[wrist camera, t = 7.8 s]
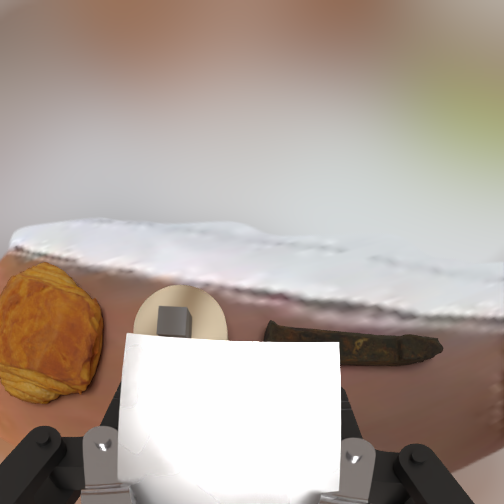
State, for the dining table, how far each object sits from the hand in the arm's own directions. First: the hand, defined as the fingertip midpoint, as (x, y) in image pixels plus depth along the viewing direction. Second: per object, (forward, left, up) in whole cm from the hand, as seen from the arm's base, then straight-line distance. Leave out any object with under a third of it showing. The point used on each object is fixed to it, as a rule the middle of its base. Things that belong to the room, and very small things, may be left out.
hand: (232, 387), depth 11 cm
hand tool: (-7, -11, -19) cm, 23 cm away
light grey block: (-1, +1, -4) cm, 5 cm away
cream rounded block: (+7, -1, -18) cm, 20 cm away
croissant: (+18, +9, -19) cm, 28 cm away
